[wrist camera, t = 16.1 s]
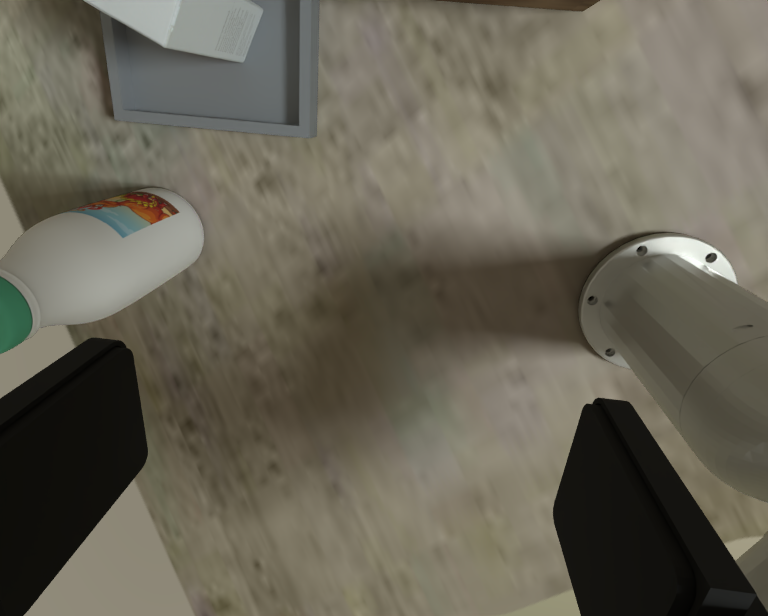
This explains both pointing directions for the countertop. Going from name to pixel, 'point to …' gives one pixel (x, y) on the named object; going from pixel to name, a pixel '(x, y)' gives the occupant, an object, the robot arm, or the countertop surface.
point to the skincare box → (190, 24)
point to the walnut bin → (538, 3)
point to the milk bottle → (95, 261)
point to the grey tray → (222, 77)
